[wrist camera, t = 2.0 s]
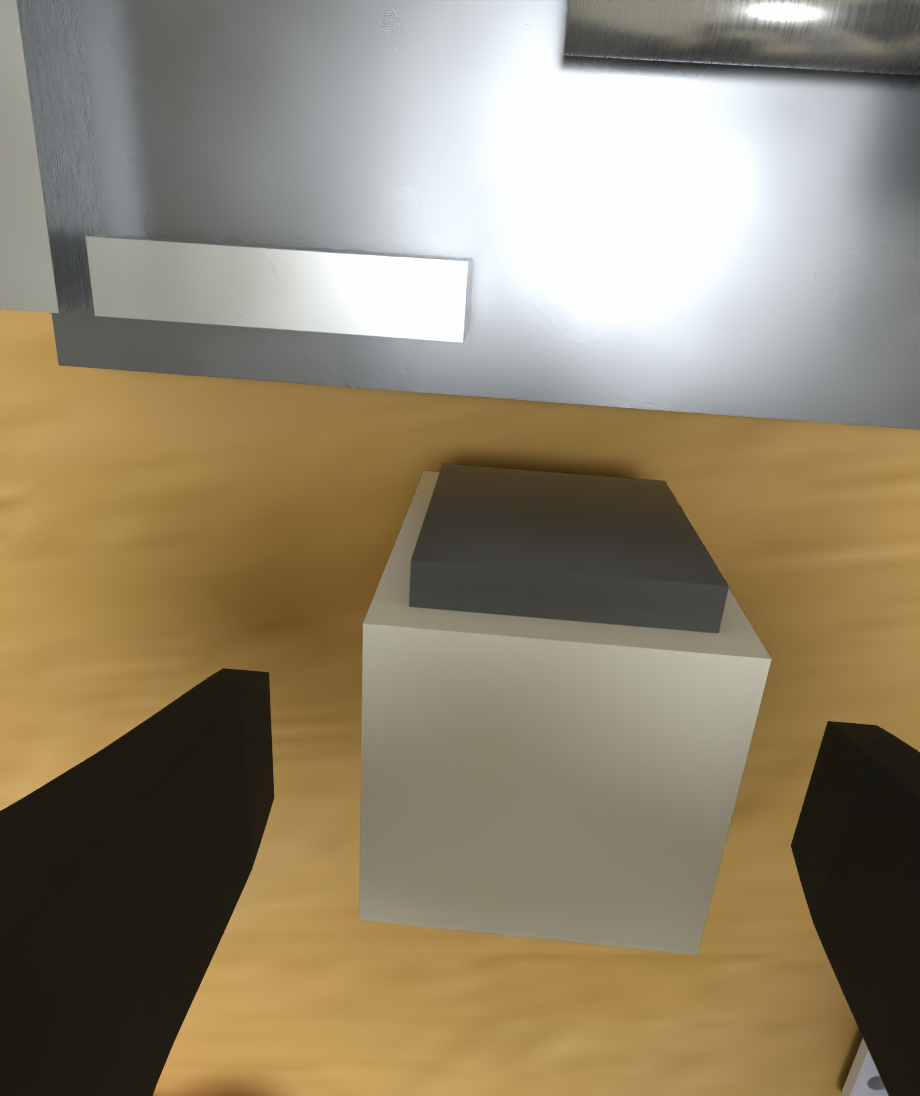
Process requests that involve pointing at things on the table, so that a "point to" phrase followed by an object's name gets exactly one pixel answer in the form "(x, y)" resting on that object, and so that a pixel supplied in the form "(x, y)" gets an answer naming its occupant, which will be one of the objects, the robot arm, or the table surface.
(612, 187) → the grey metal base
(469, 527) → the white cube grey lid
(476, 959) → the table surface
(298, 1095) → the table surface
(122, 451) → the table surface
